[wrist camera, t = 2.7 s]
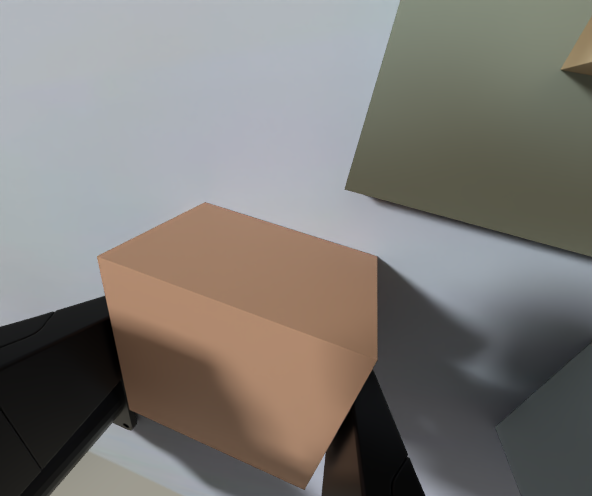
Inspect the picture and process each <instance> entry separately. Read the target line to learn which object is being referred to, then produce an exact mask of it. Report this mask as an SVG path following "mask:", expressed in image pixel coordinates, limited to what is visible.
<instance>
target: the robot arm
mask: <svg viewBox="0 0 592 496" xmlns="http://www.w3.org/2000/svg"><path fill="white" fill-rule="evenodd" d="M112 423H114V424H116V425H119V426H121V427H123V428H125V429H127V430H132V429H133V428H134V427H135V426H136V424H137V420H136V416H135V412H133V411H131V410H129V405H128V400H127V395H126V391H125V386H124V381H123V377H122V372H121V367H120V362H119V358H118V353H117V348H116V344H115V339H114V334H113V329H112V325H111V320H110V315H109V311H108V306H107V301H106V296H103V297H100V298H96V299H93V300H90V301H86V302H83V303H80V304H76V305H73V306H70V307H67V308H63V309H60V310H57V311H55V312H50V313H47V314H43V315H40V316H37V317H33V318H30V319H26V320H23V321H19V322H16V323H12V324H9V325H5V326H1V327H0V496H50V494H51V493H52V492H53V491H54V490H55V488H56V487H57V486H58V485H59V484H60V483H61V482H62V480H63V479H64V478H65V477H66V476H67V475H68V474H69V472H70V471H71V470H72V469H73V468H74V467H75V465H76V464H77V463H78V462H79V461H80V459H81V458H82V457H83V456H84V455H85V454H86V453H87V452H88V450H89V449H90V448H91V447H92V446H93V445H94V443H95V442H96V441H97V440H98V439H99V438H100V436H101V435H102V434H103V433H104V432H105V431H106V430H107V428H108V427H109V426H110V425H111V424H112ZM407 456H408V453H407V451H406V449H405V446H404V444H403V441H402V439H401V436H400V434H399V432H398V429H397V427H396V424H395V422H394V419H393V417H392V415H391V412H390V410H389V407H388V405H387V402H386V400H385V398H384V395H383V393H382V390H381V388H380V385H379V383H378V381H377V378H376V376H375V373H374V371H373V369H372V371H371V373H370V374H369V376H368V378H367V380H366V381H365V383H364V385H363V387H362V389H361V390H360V392H359V394H358V396H357V397H356V399H355V401H354V403H353V405H352V406H351V408H350V410H349V412H348V413H347V415H346V417H345V419H344V420H343V422H342V424H341V426H340V428H339V429H338V431H337V433H336V435H335V436H334V438H333V440H332V442H331V444H330V445H329V447H328V449H327V451H326V455H325V465H324V476H323V486H322V496H425V493H424V491H423V489H422V487H421V484H420V482H419V480H418V477H417V475H416V473H415V470H414V468H413V465H412V463H411V460H410V458H409V457H407Z"/></svg>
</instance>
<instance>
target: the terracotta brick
mask: <svg viewBox="0 0 592 496" xmlns="http://www.w3.org/2000/svg"><path fill="white" fill-rule="evenodd" d="M97 259H98V263H99V268H100V273H101V278H102V282H103V287H104V292H105V296H106V301H107V306H108V311H109V315H110V320H111V325H112V329H113V334H114V339H115V344H116V348H117V353H118V358H119V362H120V367H121V372H122V377H123V381H124V386H125V391H126V395H127V400H128V405H129V410H131V411H133V412H136V413H138V414H140V415H142V416H144V417H146V418H149V419H151V420H153V421H155V422H157V423H160V424H162V425H164V426H166V427H168V428H170V429H173V430H175V431H177V432H179V433H181V434H183V435H186V436H188V437H190V438H192V439H194V440H197V441H199V442H201V443H203V444H205V445H207V446H210V447H212V448H214V449H216V450H218V451H221V452H223V453H225V454H227V455H229V456H231V457H234V458H236V459H238V460H240V461H242V462H245V463H247V464H249V465H251V466H253V467H255V468H258V469H260V470H262V471H264V472H266V473H269V474H271V475H273V476H275V477H277V478H279V479H282V480H284V481H286V482H288V483H290V484H293V485H295V486H297V487H299V488H301V489H303V490H305V488H306V486H307V484H308V483H309V481H310V479H311V477H312V476H313V474H314V472H315V470H316V468H317V467H318V465H319V463H320V461H321V460H322V458H323V456H324V454H325V452H326V451H327V449H328V447H329V445H330V444H331V442H332V440H333V438H334V436H335V435H336V433H337V431H338V429H339V428H340V426H341V424H342V422H343V420H344V419H345V417H346V415H347V413H348V412H349V410H350V408H351V406H352V405H353V403H354V401H355V399H356V397H357V396H358V394H359V392H360V390H361V389H362V387H363V385H364V383H365V381H366V380H367V378H368V376H369V374H370V373H371V371H372V369H373V367H374V365H375V364H376V362H377V256H374V255H371V254H368V253H365V252H362V251H358V250H355V249H352V248H349V247H346V246H342V245H339V244H336V243H333V242H330V241H327V240H323V239H320V238H317V237H314V236H311V235H307V234H304V233H301V232H298V231H295V230H292V229H288V228H285V227H282V226H279V225H276V224H272V223H269V222H266V221H263V220H260V219H257V218H253V217H250V216H247V215H244V214H241V213H237V212H234V211H231V210H228V209H225V208H222V207H218V206H215V205H212V204H209V203H206V202H205V203H203V204H201V205H199V206H197V207H195V208H193V209H191V210H189V211H187V212H185V213H183V214H181V215H179V216H177V217H175V218H173V219H171V220H169V221H167V222H165V223H163V224H161V225H159V226H157V227H155V228H153V229H151V230H149V231H147V232H145V233H143V234H141V235H139V236H137V237H135V238H133V239H131V240H129V241H127V242H125V243H123V244H121V245H119V246H117V247H115V248H113V249H111V250H109V251H107V252H105V253H103V254H101V255H99V256H97Z"/></svg>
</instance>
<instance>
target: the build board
mask: <svg viewBox="0 0 592 496" xmlns="http://www.w3.org/2000/svg"><path fill="white" fill-rule="evenodd" d="M345 190H348V191H352V192H356V193H359V194H363V195H367V196H370V197H374V198H378V199H381V200H385V201H389V202H392V203H396V204H400V205H403V206H407V207H411V208H414V209H418V210H422V211H425V212H429V213H433V214H436V215H440V216H444V217H448V218H451V219H455V220H459V221H462V222H466V223H470V224H473V225H477V226H481V227H484V228H488V229H492V230H495V231H499V232H503V233H506V234H510V235H514V236H517V237H521V238H525V239H528V240H532V241H536V242H539V243H543V244H547V245H550V246H554V247H558V248H561V249H565V250H569V251H572V252H576V253H580V254H583V255H587V256H591V257H592V0H400V4H399V7H398V10H397V14H396V17H395V21H394V24H393V27H392V31H391V34H390V37H389V41H388V44H387V48H386V51H385V54H384V58H383V61H382V64H381V68H380V71H379V75H378V78H377V81H376V85H375V88H374V91H373V95H372V98H371V102H370V105H369V108H368V112H367V115H366V118H365V122H364V125H363V129H362V132H361V135H360V139H359V142H358V145H357V149H356V152H355V156H354V159H353V162H352V166H351V169H350V172H349V176H348V179H347V183H346V186H345Z"/></svg>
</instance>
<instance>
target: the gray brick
mask: <svg viewBox="0 0 592 496" xmlns="http://www.w3.org/2000/svg"><path fill="white" fill-rule="evenodd" d="M495 428H496V431H497V434H498V436H499V439H500V441H501V444H502V447H503V449H504V452H505V455H506V457H507V460H508V463H509V465H510V468H511V470H512V473H513V476H514V478H515V481H516V484H517V486H518V489H519V492H520V494H521V496H592V342H591V343H590V344H589V345H588V346H587V347H586V348H584V349H583V350H582V351H581V352H580V353H579V354H578V355H577V356H575V357H574V358H573V359H572V360H571V361H570V362H569V363H568V364H566V365H565V366H564V367H563V368H562V369H561V370H560V371H558V372H557V373H556V374H555V375H554V376H553V377H552V378H551V379H549V380H548V381H547V382H546V383H545V384H544V385H543V386H541V387H540V388H539V389H538V390H537V391H536V392H535V393H534V394H532V395H531V396H530V397H529V398H528V399H527V400H526V401H524V402H523V403H522V404H521V405H520V406H519V407H518V408H517V409H515V410H514V411H513V412H512V413H511V414H510V415H509V416H507V417H506V418H505V419H504V420H503V421H502V422H501V423H500V424H498V425H497V426H496V427H495Z"/></svg>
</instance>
